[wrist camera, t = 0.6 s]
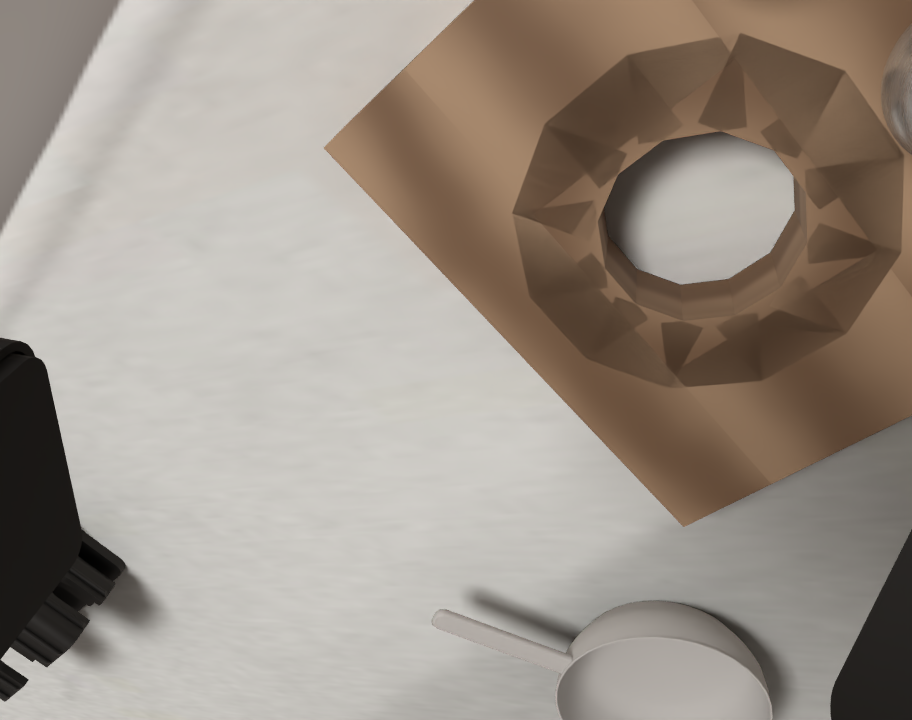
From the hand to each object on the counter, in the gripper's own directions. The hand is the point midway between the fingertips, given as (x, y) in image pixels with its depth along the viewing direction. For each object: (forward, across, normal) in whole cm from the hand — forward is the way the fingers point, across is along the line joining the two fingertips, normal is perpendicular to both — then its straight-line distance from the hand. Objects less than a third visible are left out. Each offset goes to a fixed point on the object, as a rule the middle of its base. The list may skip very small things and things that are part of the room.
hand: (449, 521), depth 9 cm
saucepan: (+26, -6, +30) cm, 40 cm away
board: (+25, -7, +3) cm, 26 cm away
